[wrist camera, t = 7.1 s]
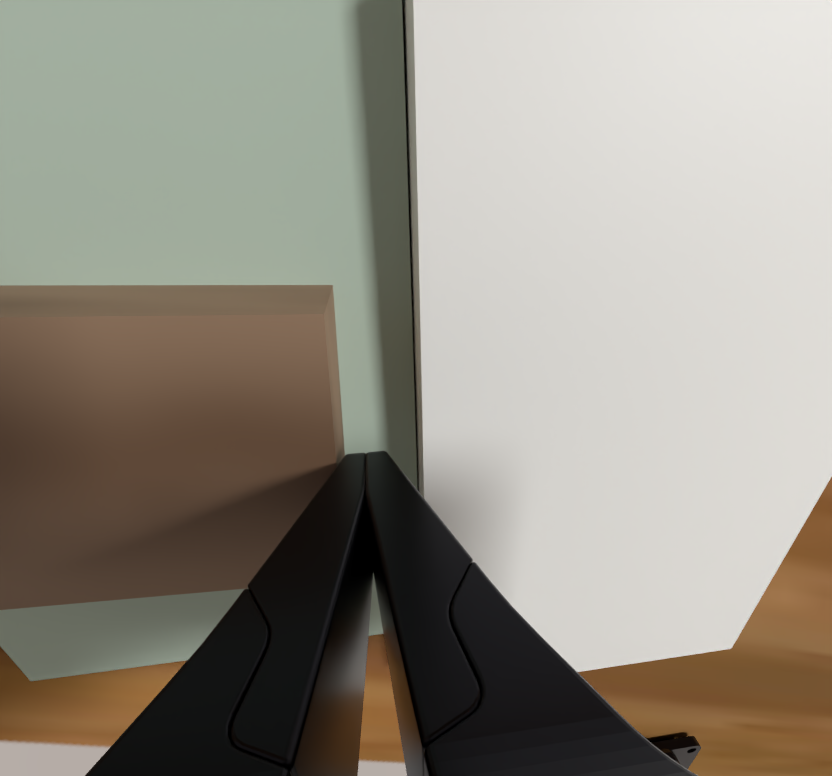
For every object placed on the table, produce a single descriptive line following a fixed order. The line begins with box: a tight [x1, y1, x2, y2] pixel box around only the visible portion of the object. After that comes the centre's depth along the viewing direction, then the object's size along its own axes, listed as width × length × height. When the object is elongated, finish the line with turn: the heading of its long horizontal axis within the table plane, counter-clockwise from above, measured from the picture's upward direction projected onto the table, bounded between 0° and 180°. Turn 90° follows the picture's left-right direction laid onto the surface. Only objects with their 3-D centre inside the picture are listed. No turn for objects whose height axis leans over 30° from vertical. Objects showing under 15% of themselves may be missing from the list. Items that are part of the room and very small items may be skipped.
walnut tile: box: [0, 285, 345, 610], centre depth 8 cm, size 6×8×2 cm
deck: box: [402, 0, 832, 672], centre depth 10 cm, size 18×11×2 cm, turn 2°
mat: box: [0, 0, 417, 681], centre depth 9 cm, size 18×12×1 cm, turn 2°
